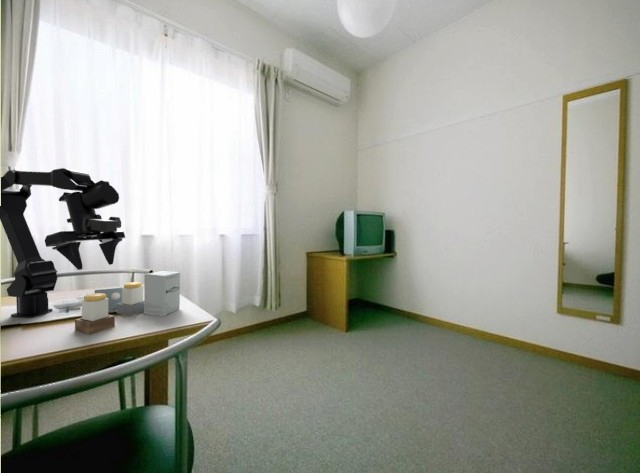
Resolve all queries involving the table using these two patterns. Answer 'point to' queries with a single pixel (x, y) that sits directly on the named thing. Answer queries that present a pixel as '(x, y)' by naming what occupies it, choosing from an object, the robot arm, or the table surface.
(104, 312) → the lidded white jar
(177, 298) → the supplement box
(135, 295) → the yellow topped white block
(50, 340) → the table surface
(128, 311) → the grey collar
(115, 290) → the pattern card
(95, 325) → the walnut collar
